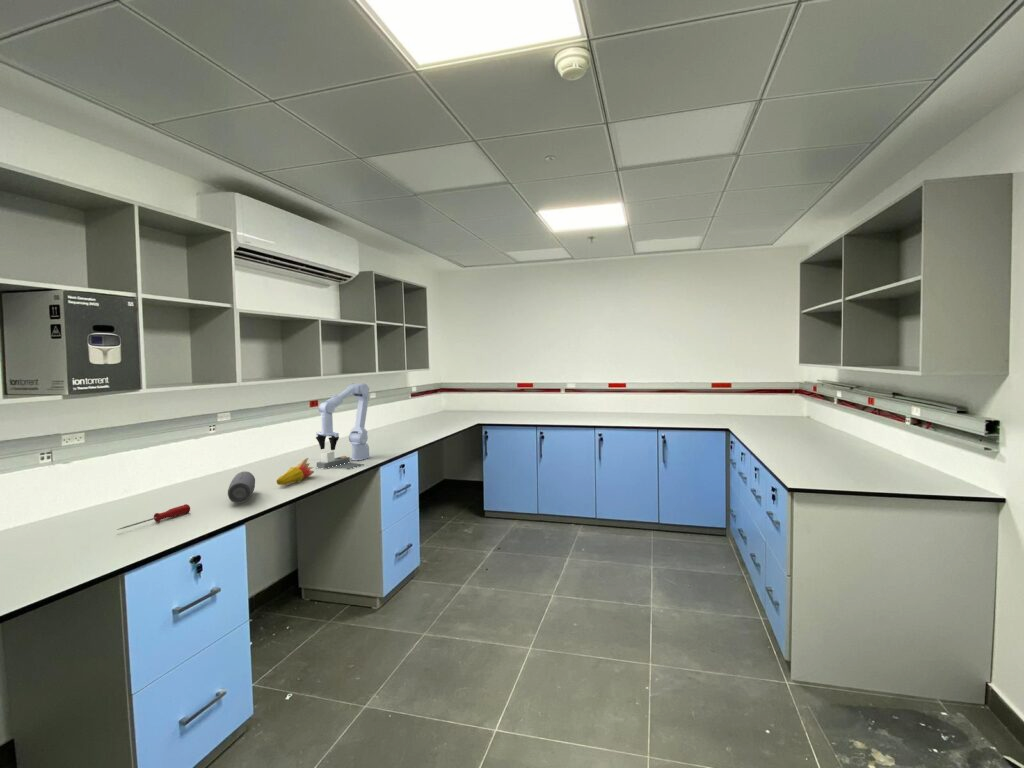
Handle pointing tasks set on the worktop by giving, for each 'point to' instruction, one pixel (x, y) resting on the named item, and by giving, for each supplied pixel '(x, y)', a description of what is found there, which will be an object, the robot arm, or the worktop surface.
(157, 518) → the screwdriver
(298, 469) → the torch
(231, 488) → the bluetooth speaker
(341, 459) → the power strip
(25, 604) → the worktop surface
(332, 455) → the block
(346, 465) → the mat
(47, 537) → the worktop surface
